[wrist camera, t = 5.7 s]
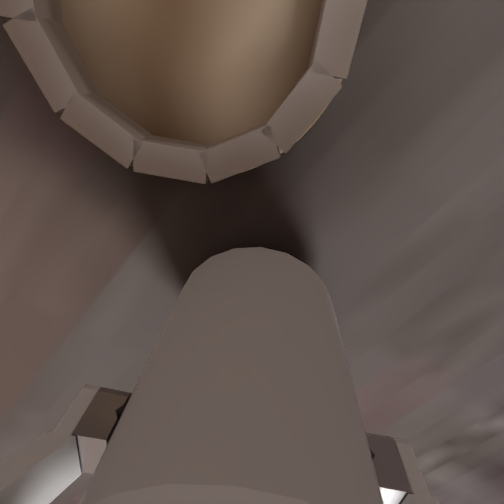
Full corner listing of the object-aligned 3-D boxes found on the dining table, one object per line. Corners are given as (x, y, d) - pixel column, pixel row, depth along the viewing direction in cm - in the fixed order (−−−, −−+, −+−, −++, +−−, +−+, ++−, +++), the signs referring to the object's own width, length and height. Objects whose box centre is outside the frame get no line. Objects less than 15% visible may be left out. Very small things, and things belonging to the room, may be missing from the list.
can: (157, 307, 17) (-49, 678, 6) (245, 206, 14) (139, 581, 3) (264, 377, 19) (246, 759, 8) (362, 300, 16) (538, 742, 5)
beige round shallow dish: (414, -203, 9) (458, -295, 7) (312, 193, 15) (320, 211, 12) (2, -284, 9) (-87, -408, 7) (55, 148, 14) (15, 158, 12)
